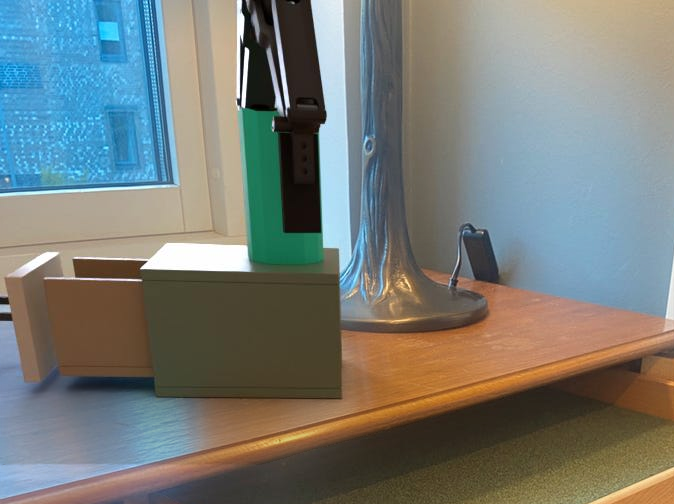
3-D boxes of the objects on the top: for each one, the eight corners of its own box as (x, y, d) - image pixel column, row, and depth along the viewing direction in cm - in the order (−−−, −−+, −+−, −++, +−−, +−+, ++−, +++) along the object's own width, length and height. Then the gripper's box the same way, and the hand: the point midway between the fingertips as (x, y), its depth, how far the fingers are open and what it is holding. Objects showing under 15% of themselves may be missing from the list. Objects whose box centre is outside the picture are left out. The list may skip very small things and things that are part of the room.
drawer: (-43, 381, 74) (-67, 275, 70) (2, 345, 84) (-17, 250, 80) (202, 384, 76) (192, 281, 72) (218, 349, 86) (210, 256, 82)
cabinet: (155, 397, 76) (139, 269, 71) (179, 356, 86) (166, 243, 82) (342, 398, 78) (338, 273, 73) (342, 359, 88) (339, 248, 83)
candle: (271, 266, 74) (260, 87, 68) (234, 255, 78) (221, 85, 72) (337, 261, 77) (332, 90, 71) (299, 250, 81) (292, 88, 75)
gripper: (184, -100, 74) (210, 200, 85) (242, -156, 54) (266, 244, 65) (281, -89, 76) (294, 201, 87) (369, -139, 57) (373, 243, 67)
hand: (282, 220), depth 76 cm, fingers open, 13 cm apart
